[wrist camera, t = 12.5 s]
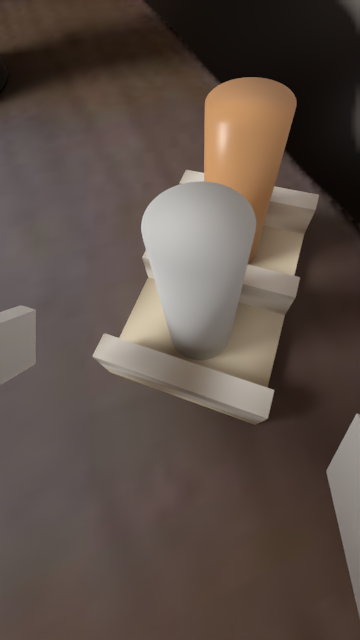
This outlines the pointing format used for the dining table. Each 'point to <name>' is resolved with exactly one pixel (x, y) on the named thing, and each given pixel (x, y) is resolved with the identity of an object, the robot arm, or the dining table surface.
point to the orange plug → (247, 140)
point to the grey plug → (199, 261)
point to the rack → (247, 332)
